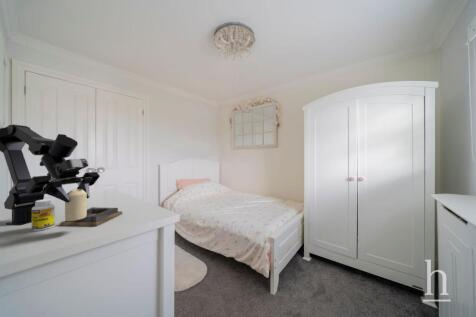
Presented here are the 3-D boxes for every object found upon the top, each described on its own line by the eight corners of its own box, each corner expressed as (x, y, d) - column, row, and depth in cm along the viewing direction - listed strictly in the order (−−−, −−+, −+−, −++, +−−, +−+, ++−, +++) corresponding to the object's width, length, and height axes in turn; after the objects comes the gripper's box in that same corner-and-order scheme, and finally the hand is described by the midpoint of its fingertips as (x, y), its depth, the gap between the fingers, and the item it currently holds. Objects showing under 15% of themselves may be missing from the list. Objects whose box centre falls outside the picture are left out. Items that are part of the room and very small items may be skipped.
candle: (73, 221, 57) (73, 191, 57) (60, 220, 59) (60, 190, 58) (90, 216, 63) (90, 188, 63) (78, 215, 64) (78, 187, 64)
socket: (60, 225, 66) (60, 217, 66) (92, 213, 80) (92, 206, 80) (96, 226, 66) (96, 217, 66) (122, 214, 80) (122, 207, 80)
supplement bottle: (27, 232, 60) (27, 203, 60) (37, 226, 65) (37, 199, 65) (49, 230, 62) (49, 201, 62) (57, 224, 67) (57, 198, 67)
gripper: (31, 150, 53) (55, 189, 50) (96, 151, 71) (117, 180, 68) (15, 174, 55) (37, 213, 52) (82, 170, 73) (102, 199, 70)
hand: (79, 199), depth 60 cm, fingers closed on candle, 5 cm apart
